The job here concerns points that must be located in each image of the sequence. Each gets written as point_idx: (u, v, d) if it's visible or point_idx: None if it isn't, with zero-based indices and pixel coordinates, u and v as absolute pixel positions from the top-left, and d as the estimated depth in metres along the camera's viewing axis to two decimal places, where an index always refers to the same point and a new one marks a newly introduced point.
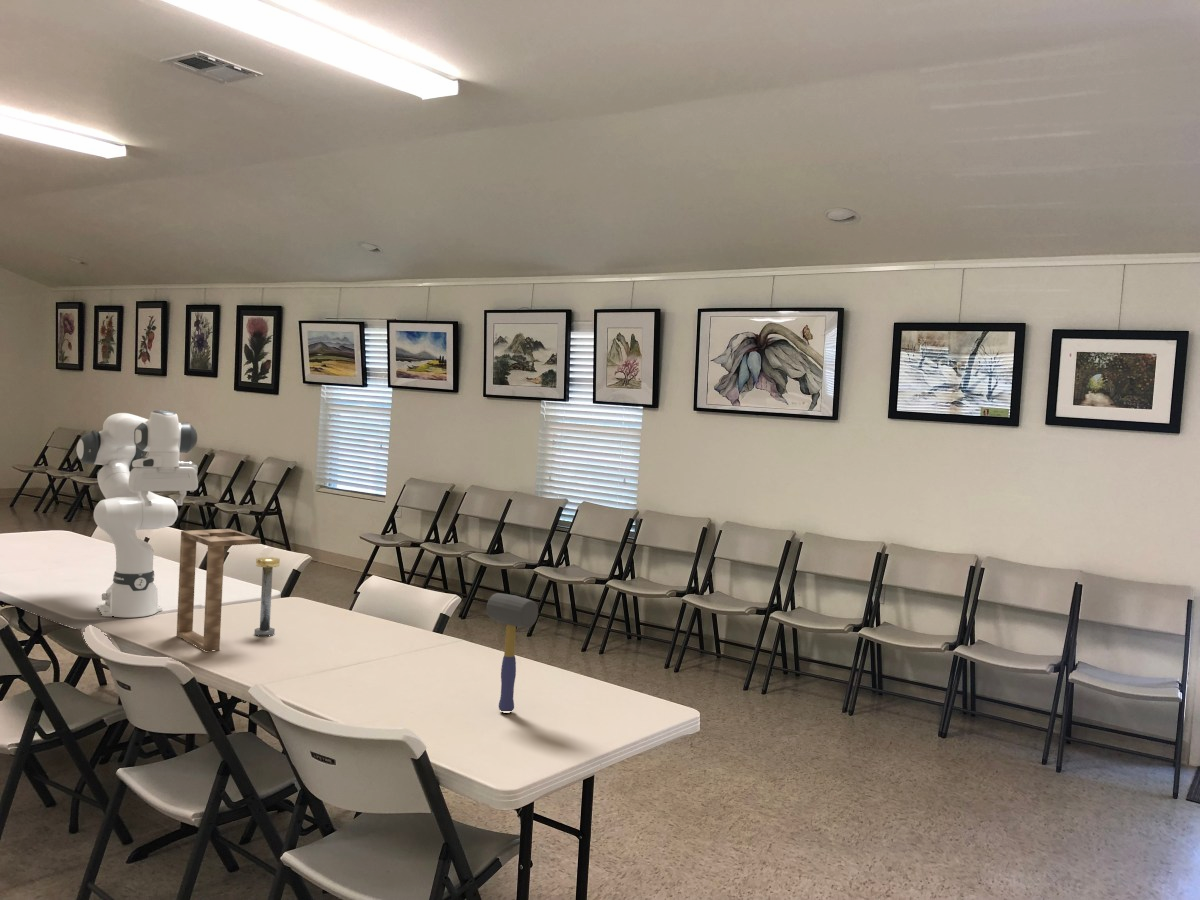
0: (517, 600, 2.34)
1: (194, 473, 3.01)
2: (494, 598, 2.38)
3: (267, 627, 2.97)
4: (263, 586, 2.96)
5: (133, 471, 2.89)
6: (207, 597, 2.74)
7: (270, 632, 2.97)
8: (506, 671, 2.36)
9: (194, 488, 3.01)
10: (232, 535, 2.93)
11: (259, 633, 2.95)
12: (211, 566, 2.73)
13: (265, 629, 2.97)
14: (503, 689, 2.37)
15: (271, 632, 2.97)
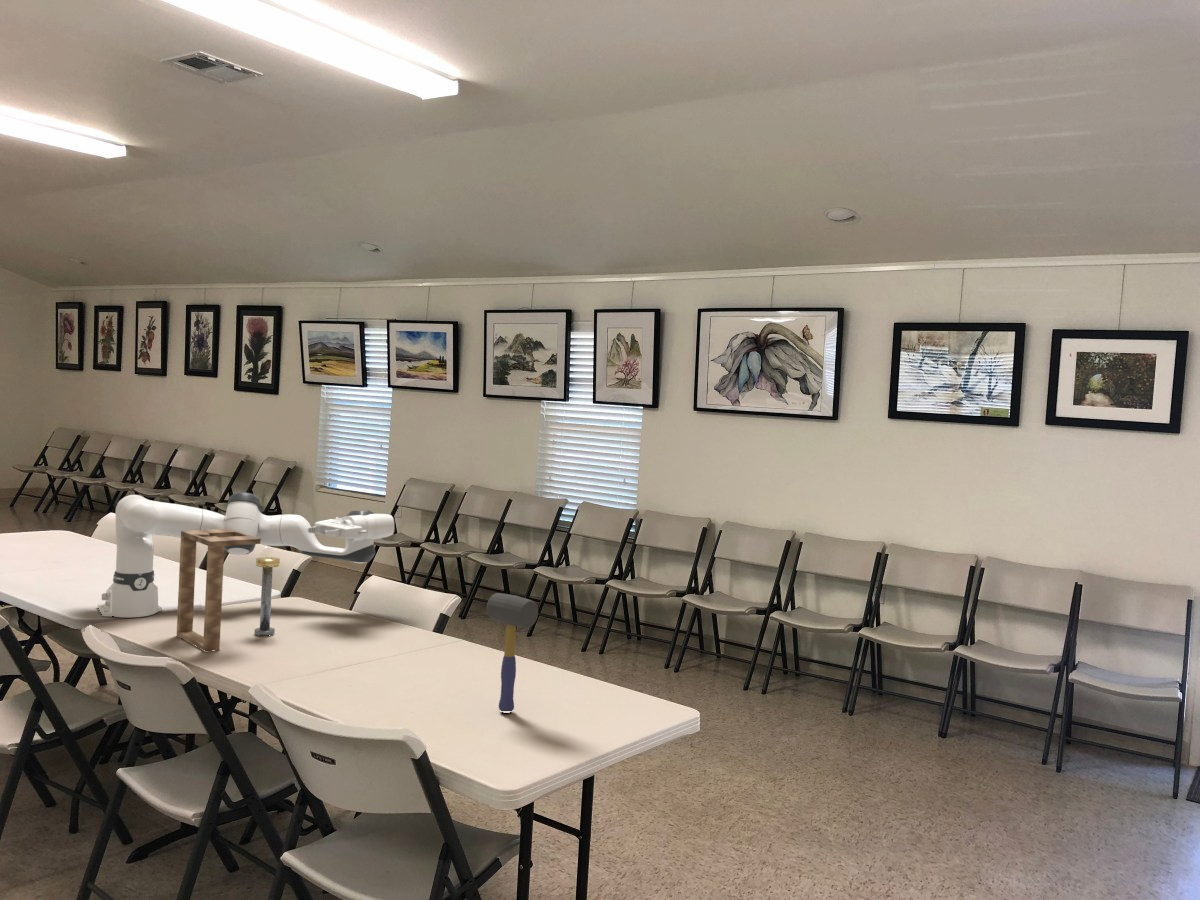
0: (517, 600, 2.34)
1: (357, 526, 3.12)
2: (494, 598, 2.38)
3: (267, 627, 2.97)
4: (263, 586, 2.96)
5: None
6: (207, 597, 2.74)
7: (270, 632, 2.97)
8: (506, 671, 2.36)
9: (345, 528, 3.09)
10: (232, 535, 2.93)
11: (259, 633, 2.95)
12: (211, 566, 2.73)
13: (265, 629, 2.97)
14: (503, 689, 2.37)
15: (271, 632, 2.97)
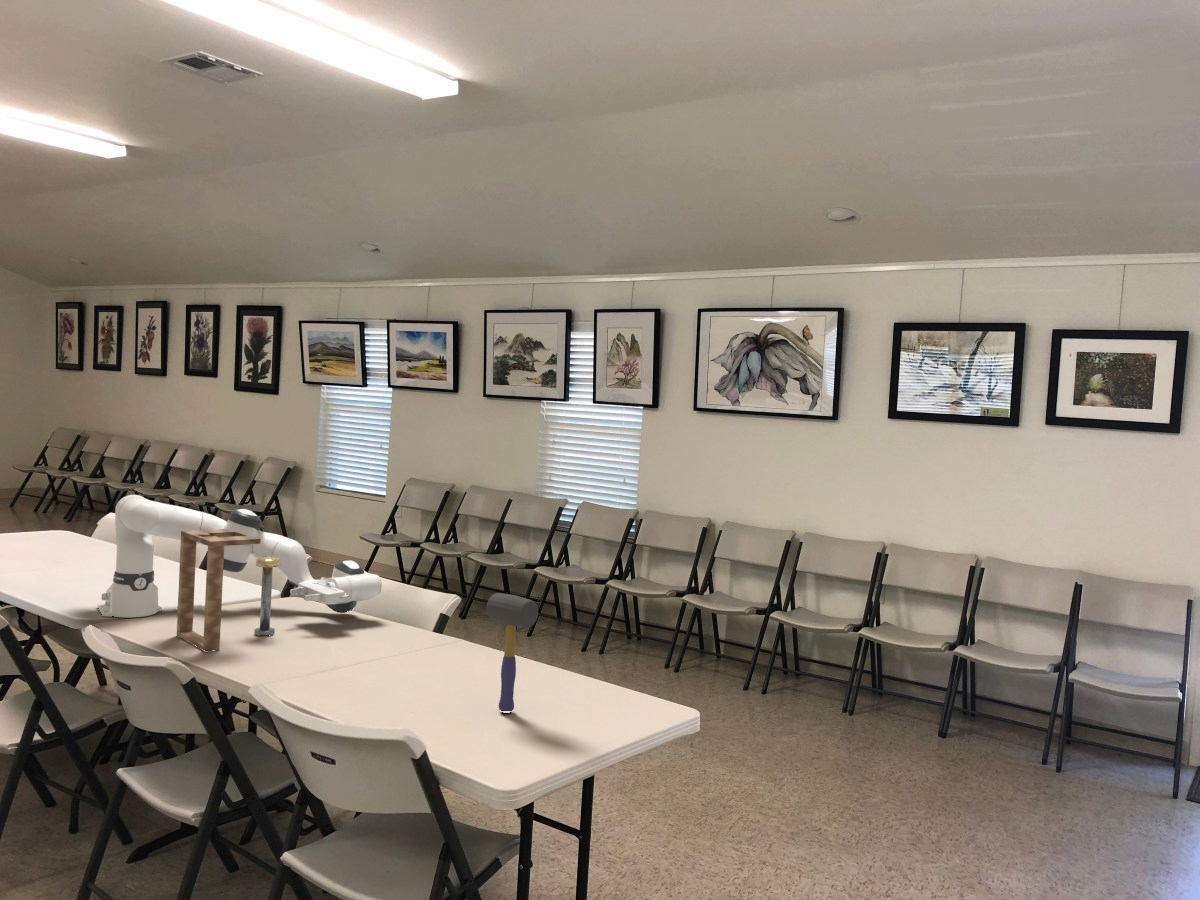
0: (517, 600, 2.34)
1: (339, 591, 3.05)
2: (494, 598, 2.38)
3: (267, 627, 2.97)
4: (263, 586, 2.96)
5: None
6: (207, 597, 2.74)
7: (270, 632, 2.97)
8: (506, 671, 2.36)
9: (326, 593, 3.02)
10: (232, 535, 2.93)
11: (259, 633, 2.95)
12: (211, 566, 2.73)
13: (265, 629, 2.97)
14: (503, 689, 2.37)
15: (271, 632, 2.97)
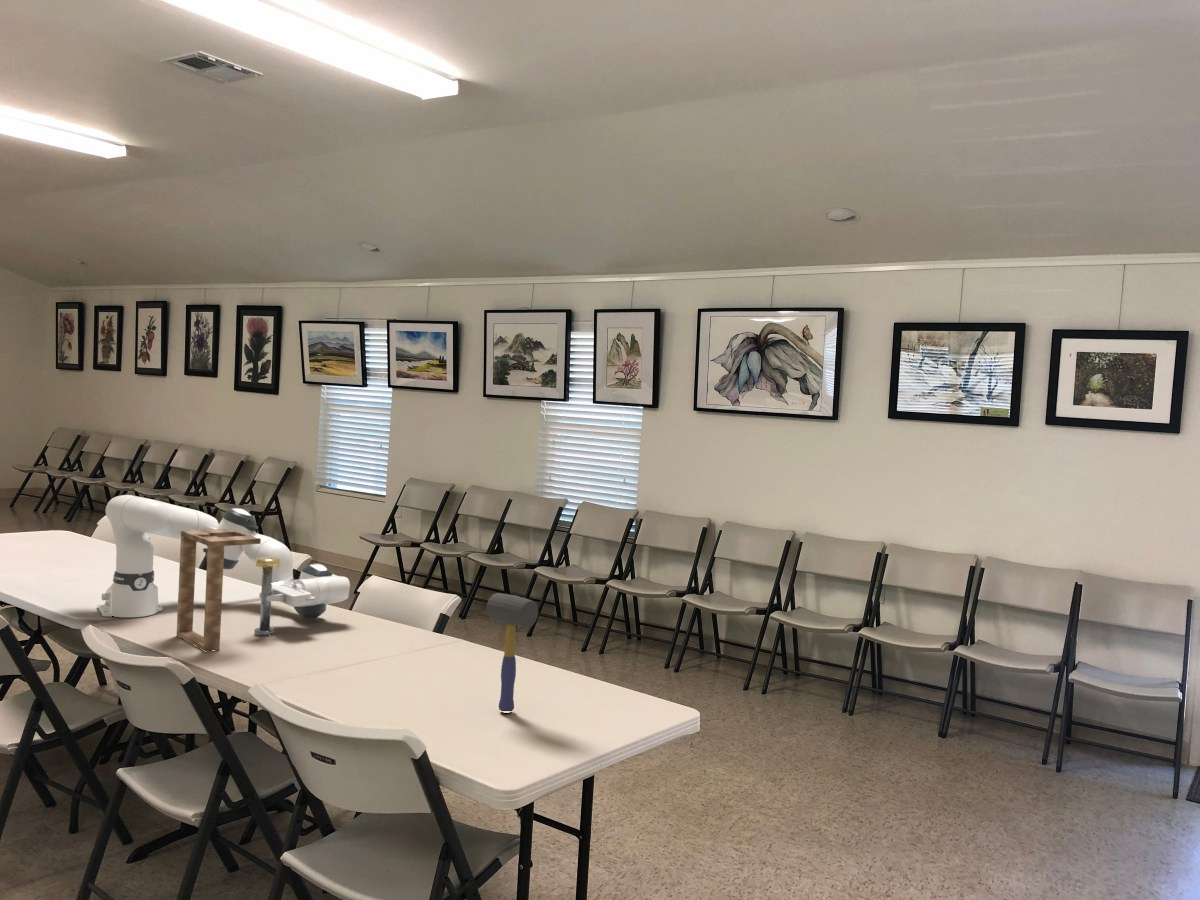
0: (517, 600, 2.34)
1: (306, 593, 2.98)
2: (494, 598, 2.38)
3: (267, 627, 2.97)
4: (263, 586, 2.96)
5: None
6: (207, 597, 2.74)
7: (270, 632, 2.97)
8: (506, 671, 2.36)
9: (292, 594, 2.95)
10: (232, 535, 2.93)
11: (259, 633, 2.95)
12: (211, 566, 2.73)
13: (265, 629, 2.97)
14: (503, 689, 2.37)
15: (271, 632, 2.97)
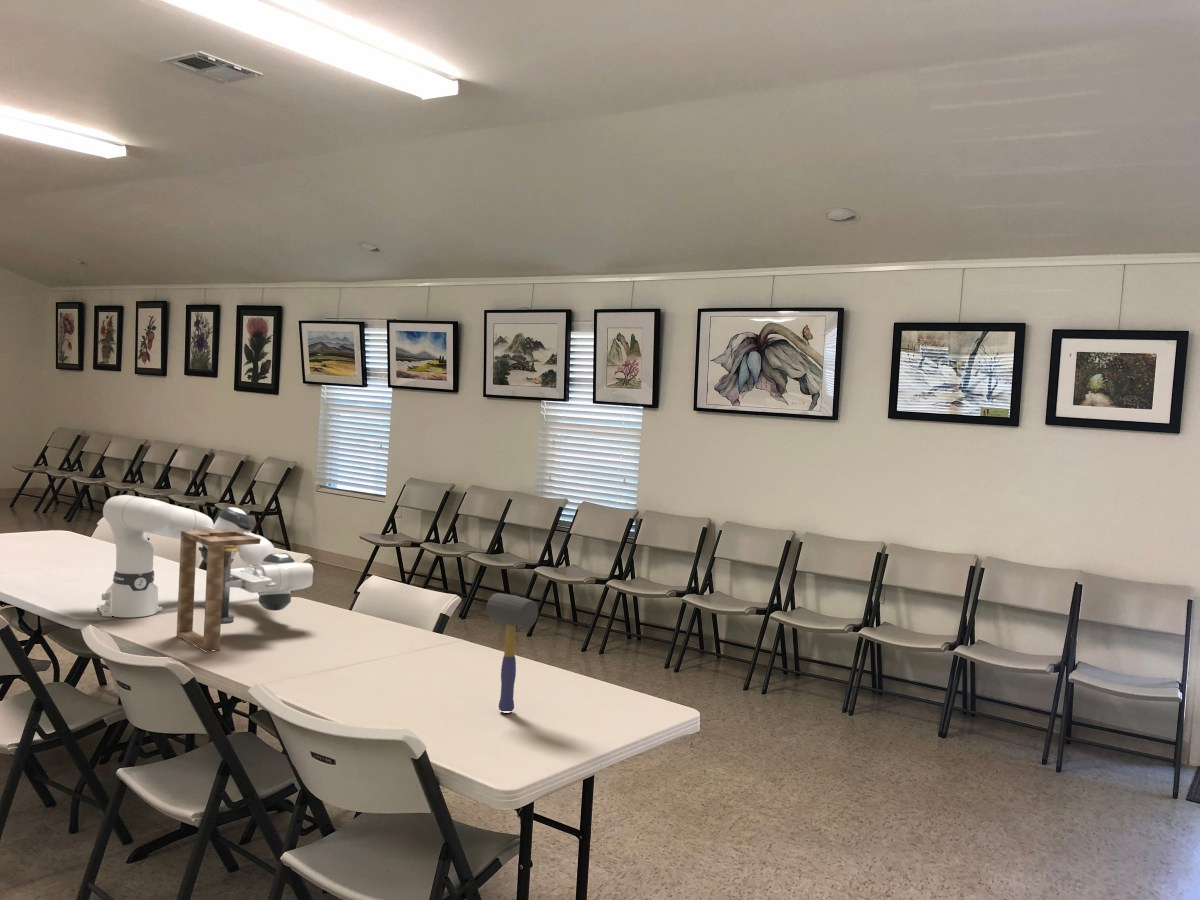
0: (517, 600, 2.34)
1: (266, 579, 2.88)
2: (494, 598, 2.38)
3: (226, 614, 2.87)
4: None
5: None
6: (207, 597, 2.74)
7: (229, 619, 2.87)
8: (506, 671, 2.36)
9: (251, 580, 2.85)
10: (232, 535, 2.93)
11: None
12: (211, 566, 2.73)
13: (223, 616, 2.87)
14: (503, 689, 2.37)
15: (230, 619, 2.87)
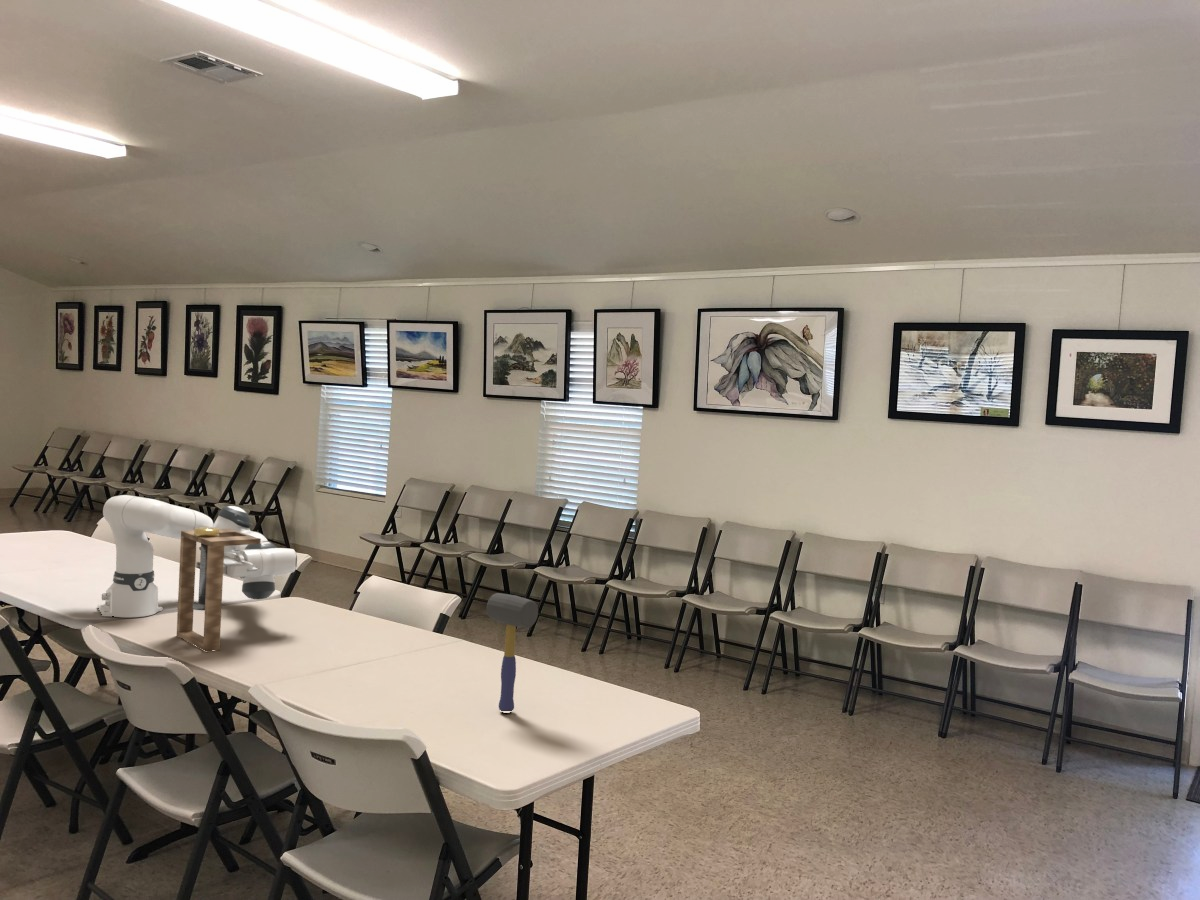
0: (517, 600, 2.34)
1: (247, 563, 2.84)
2: (494, 598, 2.38)
3: None
4: (202, 557, 2.82)
5: None
6: (207, 597, 2.74)
7: None
8: (506, 671, 2.36)
9: (232, 565, 2.80)
10: (232, 535, 2.93)
11: (197, 606, 2.81)
12: (211, 566, 2.73)
13: (204, 602, 2.82)
14: (503, 689, 2.37)
15: None
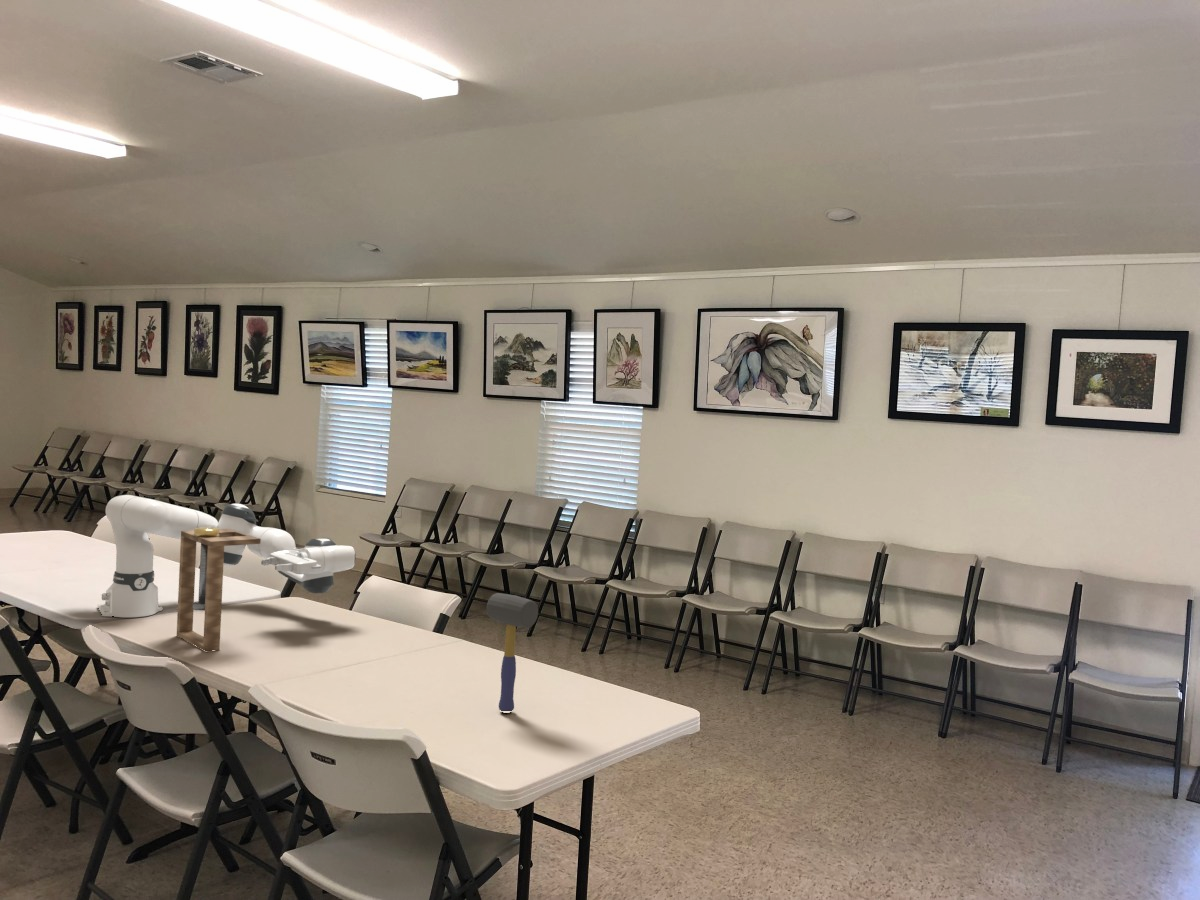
0: (517, 600, 2.34)
1: (312, 561, 2.97)
2: (494, 598, 2.38)
3: None
4: (202, 557, 2.82)
5: None
6: (207, 597, 2.74)
7: None
8: (506, 671, 2.36)
9: (298, 562, 2.93)
10: (232, 535, 2.93)
11: (197, 606, 2.81)
12: (211, 566, 2.73)
13: (204, 602, 2.82)
14: (503, 689, 2.37)
15: None
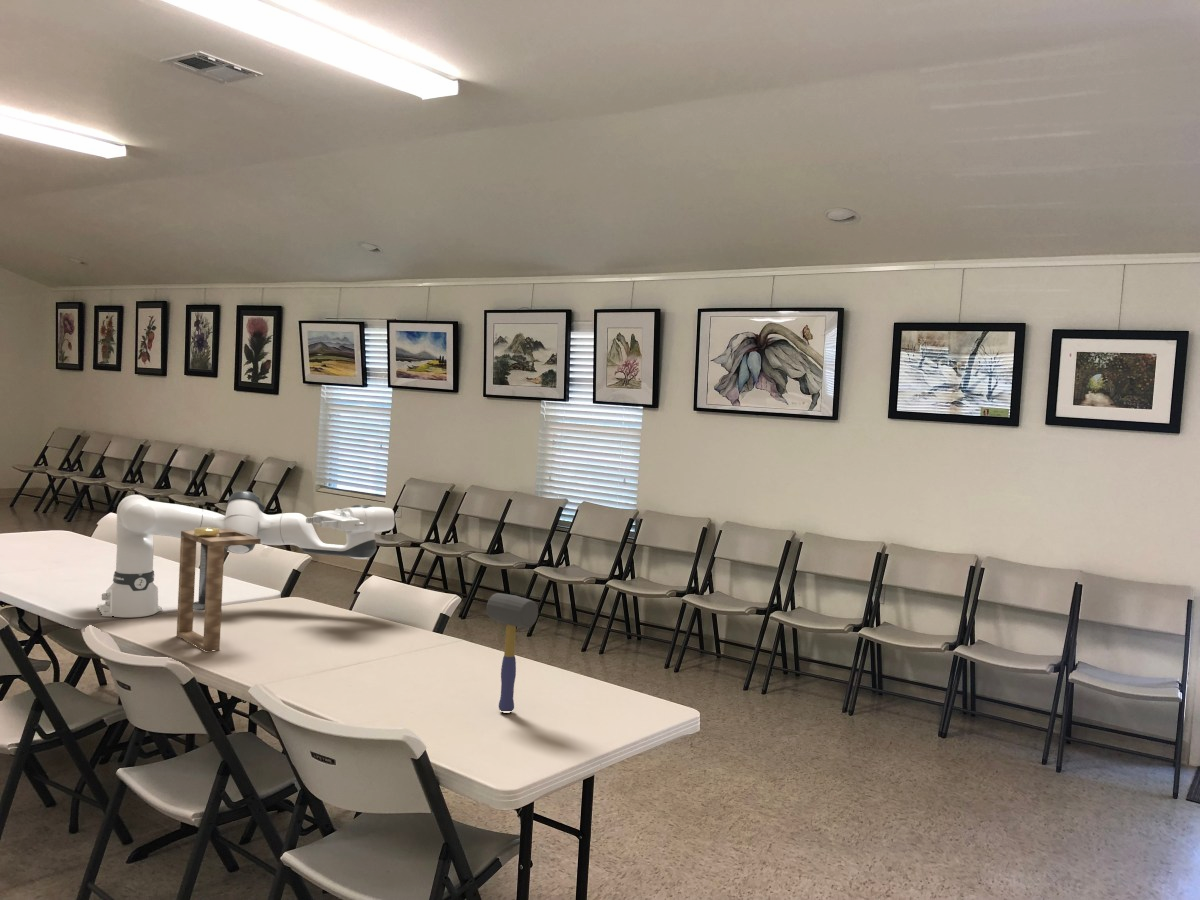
0: (517, 600, 2.34)
1: (355, 519, 3.08)
2: (494, 598, 2.38)
3: None
4: (202, 557, 2.82)
5: None
6: (207, 597, 2.74)
7: None
8: (506, 671, 2.36)
9: (342, 519, 3.05)
10: (232, 535, 2.93)
11: (197, 606, 2.81)
12: (211, 566, 2.73)
13: (204, 602, 2.82)
14: (503, 689, 2.37)
15: None
